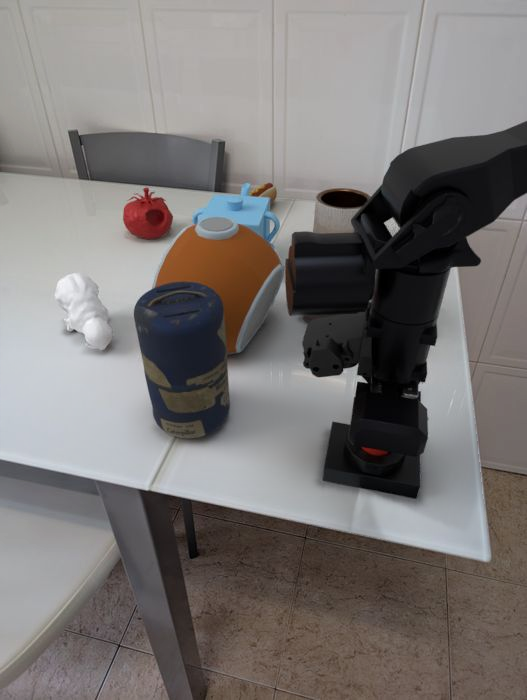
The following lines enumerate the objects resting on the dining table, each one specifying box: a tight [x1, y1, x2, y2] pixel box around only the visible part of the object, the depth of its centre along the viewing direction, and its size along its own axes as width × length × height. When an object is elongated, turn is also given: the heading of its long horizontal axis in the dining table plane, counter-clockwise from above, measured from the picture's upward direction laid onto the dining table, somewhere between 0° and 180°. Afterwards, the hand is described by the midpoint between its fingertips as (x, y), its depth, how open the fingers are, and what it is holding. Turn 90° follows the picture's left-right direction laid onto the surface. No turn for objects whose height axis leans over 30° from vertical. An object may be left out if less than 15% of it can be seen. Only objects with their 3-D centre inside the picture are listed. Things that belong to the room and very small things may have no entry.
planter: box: [312, 187, 372, 233], centre depth 96 cm, size 11×11×10 cm
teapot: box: [191, 182, 281, 250], centre depth 90 cm, size 18×16×13 cm
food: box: [250, 182, 278, 206], centre depth 111 cm, size 14×6×5 cm, turn 150°
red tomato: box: [122, 187, 174, 240], centre depth 100 cm, size 10×10×9 cm
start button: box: [361, 447, 389, 456], centre depth 53 cm, size 4×4×2 cm
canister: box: [133, 281, 231, 440], centre depth 56 cm, size 10×10×18 cm
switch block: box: [322, 421, 421, 500], centre depth 55 cm, size 10×7×4 cm
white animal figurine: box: [54, 272, 116, 351], centre depth 72 cm, size 6×8×12 cm
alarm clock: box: [151, 217, 285, 356], centre depth 71 cm, size 19×18×17 cm
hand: (378, 430), depth 52 cm, fingers closed
